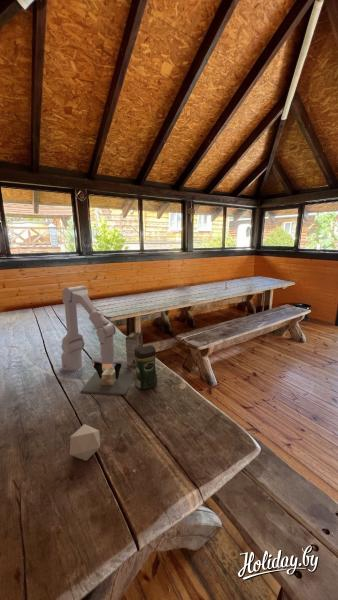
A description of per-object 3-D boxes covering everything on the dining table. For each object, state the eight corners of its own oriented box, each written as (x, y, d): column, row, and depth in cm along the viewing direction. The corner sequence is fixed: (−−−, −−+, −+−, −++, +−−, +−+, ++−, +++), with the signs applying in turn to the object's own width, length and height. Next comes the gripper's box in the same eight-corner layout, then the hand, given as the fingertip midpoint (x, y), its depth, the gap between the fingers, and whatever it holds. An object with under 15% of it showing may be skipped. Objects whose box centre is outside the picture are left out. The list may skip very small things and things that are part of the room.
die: (82, 440, 81) (62, 429, 75) (106, 427, 81) (87, 415, 75) (82, 468, 75) (60, 459, 69) (108, 454, 74) (87, 443, 68)
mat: (80, 392, 106) (80, 390, 106) (95, 373, 122) (95, 372, 122) (125, 395, 104) (125, 393, 104) (134, 375, 120) (134, 374, 120)
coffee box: (132, 358, 138) (131, 331, 134) (143, 359, 137) (142, 332, 133) (126, 366, 129) (125, 337, 125) (138, 367, 128) (137, 338, 124)
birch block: (102, 384, 111) (101, 374, 110) (106, 378, 116) (105, 369, 115) (113, 385, 110) (112, 375, 109) (116, 379, 115) (116, 369, 114)
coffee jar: (151, 377, 118) (151, 341, 114) (159, 385, 111) (159, 347, 107) (133, 383, 113) (131, 346, 109) (139, 392, 107) (138, 352, 102)
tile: (91, 369, 126) (91, 368, 126) (98, 360, 136) (98, 359, 136) (109, 370, 125) (109, 369, 125) (116, 361, 135) (116, 360, 135)
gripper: (125, 347, 113) (126, 374, 116) (95, 346, 114) (97, 372, 117) (121, 353, 106) (122, 382, 109) (88, 352, 107) (91, 380, 110)
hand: (109, 377), depth 112 cm, fingers open, 7 cm apart
